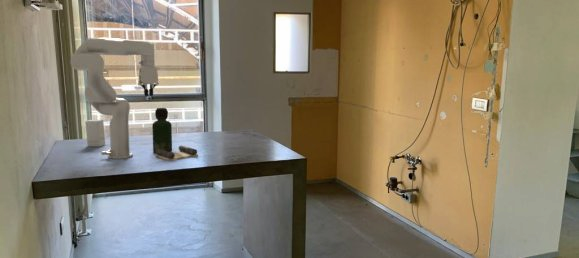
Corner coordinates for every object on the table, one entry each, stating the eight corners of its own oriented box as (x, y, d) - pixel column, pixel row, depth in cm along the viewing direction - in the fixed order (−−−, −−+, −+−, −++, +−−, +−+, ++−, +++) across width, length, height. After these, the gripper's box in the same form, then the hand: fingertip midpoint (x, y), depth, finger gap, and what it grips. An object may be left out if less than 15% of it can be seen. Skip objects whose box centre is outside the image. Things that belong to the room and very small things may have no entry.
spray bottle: (166, 154, 243) (165, 109, 239) (149, 153, 245) (148, 109, 241) (175, 150, 253) (174, 107, 249) (158, 149, 255) (157, 107, 251)
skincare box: (105, 144, 265) (104, 119, 262) (99, 147, 258) (98, 121, 256) (92, 144, 266) (91, 119, 263) (86, 146, 259) (84, 120, 257)
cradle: (168, 160, 227) (168, 153, 227) (155, 156, 237) (155, 149, 236) (198, 155, 240) (197, 148, 240) (184, 151, 250) (183, 145, 249)
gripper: (137, 64, 242) (139, 97, 245) (163, 64, 254) (164, 95, 257) (131, 63, 247) (132, 96, 250) (157, 63, 259) (158, 94, 262)
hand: (148, 95), depth 254 cm, fingers closed
